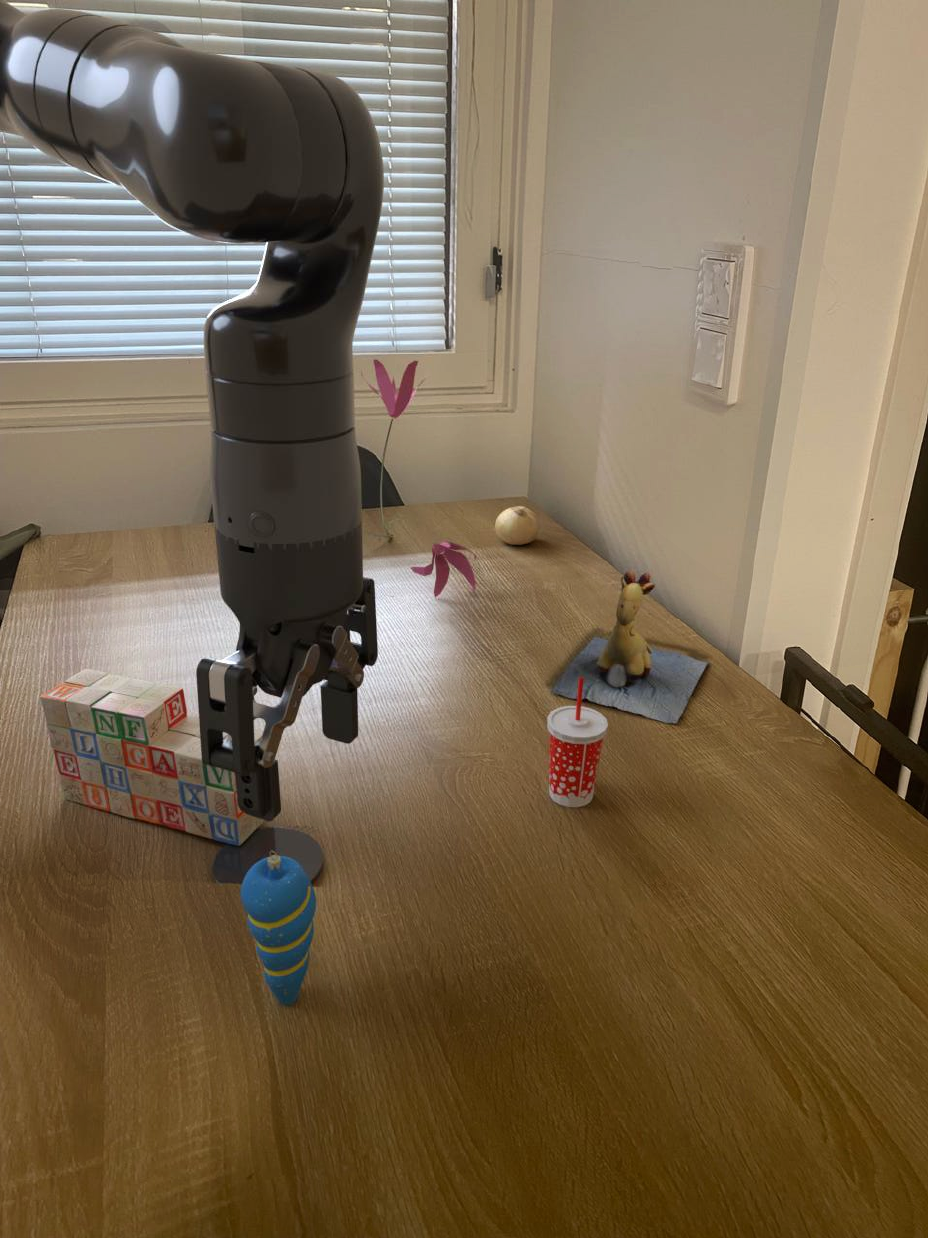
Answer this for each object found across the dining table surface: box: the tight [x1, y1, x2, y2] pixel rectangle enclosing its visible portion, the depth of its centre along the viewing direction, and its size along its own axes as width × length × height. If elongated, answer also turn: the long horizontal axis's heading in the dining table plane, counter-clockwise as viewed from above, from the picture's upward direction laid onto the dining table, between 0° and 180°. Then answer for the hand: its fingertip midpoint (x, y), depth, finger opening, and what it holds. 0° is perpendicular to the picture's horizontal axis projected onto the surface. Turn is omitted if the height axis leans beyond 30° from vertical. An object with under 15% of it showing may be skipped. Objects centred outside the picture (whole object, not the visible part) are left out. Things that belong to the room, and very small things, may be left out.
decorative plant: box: [360, 359, 477, 599], centre depth 149 cm, size 38×42×30 cm
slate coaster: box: [212, 826, 324, 885], centre depth 84 cm, size 10×10×1 cm
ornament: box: [240, 851, 317, 1006], centre depth 67 cm, size 5×5×15 cm
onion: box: [494, 505, 540, 546], centre depth 163 cm, size 8×8×7 cm
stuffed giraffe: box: [550, 570, 709, 724], centre depth 116 cm, size 16×18×16 cm
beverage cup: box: [546, 676, 609, 808], centre depth 93 cm, size 6×6×14 cm
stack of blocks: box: [39, 668, 265, 846], centre depth 89 cm, size 21×6×12 cm, turn 69°
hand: (303, 774), depth 54 cm, fingers open, 8 cm apart
